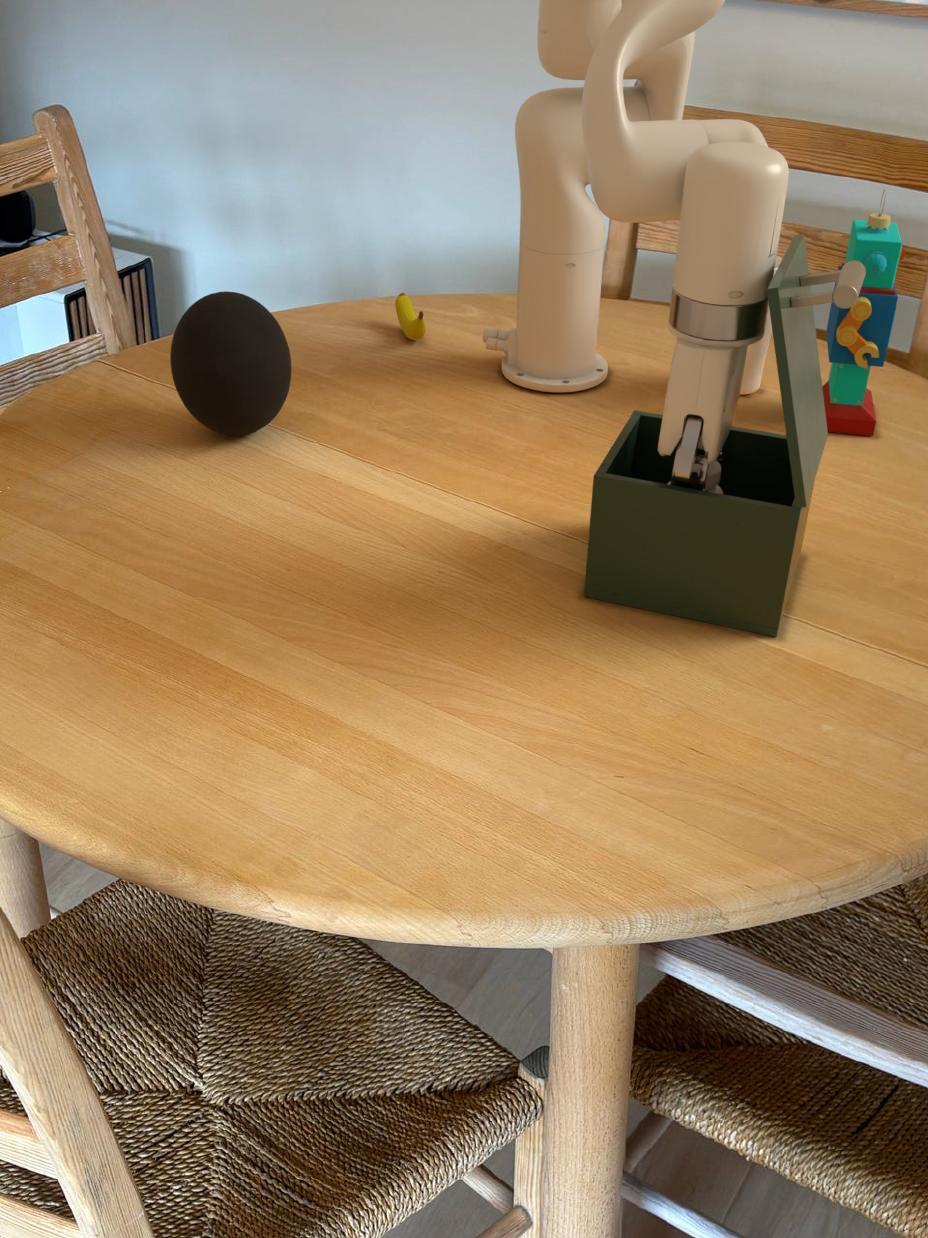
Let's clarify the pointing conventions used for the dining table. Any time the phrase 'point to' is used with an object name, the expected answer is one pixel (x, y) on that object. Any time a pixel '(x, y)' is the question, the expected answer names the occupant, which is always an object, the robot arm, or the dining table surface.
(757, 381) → the drinking glass
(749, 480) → the box
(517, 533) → the dining table surface
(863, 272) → the lid
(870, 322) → the toy robot
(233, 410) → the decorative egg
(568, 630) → the dining table surface
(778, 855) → the dining table surface
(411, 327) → the fruit
